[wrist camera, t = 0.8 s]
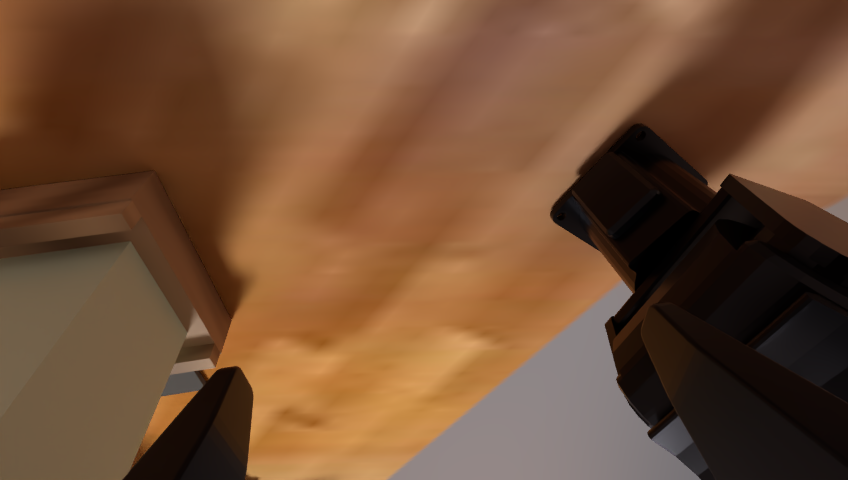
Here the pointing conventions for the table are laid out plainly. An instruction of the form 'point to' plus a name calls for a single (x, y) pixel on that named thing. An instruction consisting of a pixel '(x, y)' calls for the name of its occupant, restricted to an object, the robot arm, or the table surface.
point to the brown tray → (121, 222)
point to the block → (80, 361)
